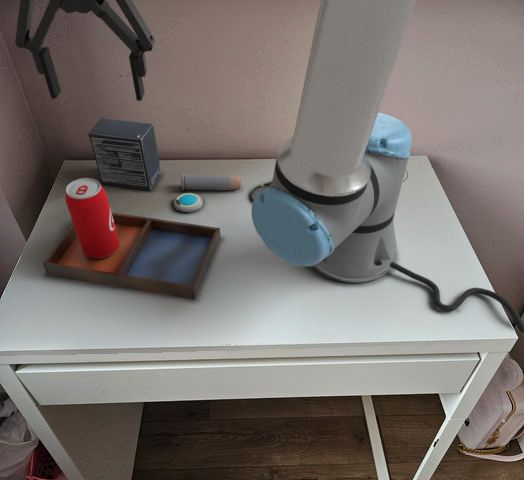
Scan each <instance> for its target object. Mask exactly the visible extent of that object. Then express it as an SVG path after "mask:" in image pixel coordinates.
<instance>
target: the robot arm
mask: <svg viewBox="0 0 524 480" xmlns="http://www.w3.org/2000/svg"><path fill="white" fill-rule="evenodd" d="M115 2H116V3H117V5H118V7H119V9H120V10H121V12H122V13H123V15H124V17H125V19H126V20H127V21H128V23H129V25H130V26H128V25H127V23H126V22H125V21H124V20H123V19H122V18H121V16H119V14H118V13H116V11H115V10H114V9H113V8H112V7H111V6H110V3H109V2H108V0H49V1H48V4H47V5H46V8H45V10H44V13H43V16H42V18H41V19H40V22H39V24H38V26H37V28H36V30H35V32H34V35H33V37H31V28H32V21H33V14H34V8H35V7H34V6H35V0H19V8H18V16H17V24H16V30H15V31H16V33H15V41H14V44H15V46H16V47H17V48H18V49H26V50H27V51H29V52H30V53H31V55H32V59H33V61H34V64H35V68H36V71H37V73H38V74H39V75H43V76H44V79H45V81H46V86H47V88H48V91H49V95H50V98H51V99H57V98H58V96H59V95H60V93H61V91H62V89H61V86H60V82H59V79H58V75H57V72H56V69H55V65H54V62H53V58H52V55H51V51H50V49H49V48H50V47H49V46H43V45H44V42H45V40H46V38H47V36H48V34H49V33H50V30H51V28H52V26H53V24H54V21H55V19H56V17H57V15H58V13H59V12H60V10H62V11H64V12H65V14H73V13H80V14H88V13H90V12H92V13H93V14H94V15H95V16H96V17H97V18H99V19H100V20H102V21H103V23H105V25H106V26H107V27H108V28H109V29H110V31H112V32H113V33H114V34H115V36H117V38H119V40H120V41H121V42H122V43H123V44H124V45H125V46H126V47H127V48H128V50H130V54H129V55H128V59H129V65H130V71H131V77H132V81H133V87H134V93H135V98H136V101H137V102H142V101H143V99H144V96H145V94H146V93H145V88H144V81H143V78H145V77H146V75H147V72H148V67H147V61H146V52H152V51H153V48H154V46H155V44H156V39H155V37H154V35H153V33H152V32H151V30H150V29H149V26H148V25H147V23H146V21H145V20H144V18H143V16H142V15H141V13H140V11H139V9H138V8H137V7H136V4H135V3H134V0H115ZM416 2H417V0H320V2H319V8H318V11H317V18H316V21H315V22H316V23H315V27H314V31H313V32H314V33H313V37H312V42H311V47H310V52H309V57H308V62H307V68H306V73H305V76H304V77H305V78H304V83H303V86H302V93H301V97H300V102H299V107H298V112H297V117H296V122H295V128H294V132H293V136H291V137H289V138H287V139H286V140H285V141H283V142H282V143H281V145H280V146H279V148H278V151H277V153H276V159H275V165H274V171H273V176H272V180H271V181H270V182H271V184H270V186H267V187H264V188H265V189H264V188H262V189H260V192H258V193H257V195H256V196H255V197H254V198H253V200H254V201H252V204H251V211H250V213H251V219H252V223H253V225H254V226H253V227H254V229H255V231H256V233H257V235H258V237H260V238H261V240H262V242H263V244H264V245H265V246H266V247H267V248H268V249H269V250H270V251H271V252H272V254H274V255H275V256H276V257H277V258H279V259H280V260H282V261H284V262H285V263H287V264H290V265H292V266H296V267H301V268H303V267H312V268H313V269H314V270H315V271H317V272H318V273H319V274H321V275H322V276H324V277H326V278H329V279H331V280H334V281H338V282H341V283H348V284H360V283H369V282H372V281H374V280H378V279H379V278H382V277H383V276H385V275H387V273H389V272H390V271H391V269H393V270H395V271H398V272H400V273H401V274H402V275H405V276H407V277H409V278H411V279H413V280H414V281H415V280H416V281H417V282H420V283H422V284H424V285H426V286H427V287H428V288H430V290H432V293H433V303H434V305H435V307H436V308H438V309H439V310H441V311H445V312H453V311H455V310H457V309H458V308H460V307H461V306H462V304H463V303H464V302H465V300H467V298H469V297H470V296H471V295H473V294H476V295H477V294H479V295H483V296H486V297H488V298H492V299H493V300H495V301H497V302H498V303H500V304H501V305H502V306H503V307H504V308H505V310H507V312H508V313H509V315H510V316H511V318H512V319H513V321H514V322H515V325H516V327H517V329H518V331H520V332H521V333H524V321H523V320H522V318H521V317H520V315H519V313H518V311H517V310H516V309H515V307H514V306H513V305H512V304H511V303H510V302H509V301H508V300H507V299H506V298H505V297H503V296H502V295H500V294H499V293H497V292H495V291H492V290H489V289H486V288H481V287H470V288H468V289H466V290H465V291H463V293H461V295H460V296H459V297H458V299H457V300H455V302H454V303H452V304H444V303H442V301H441V295H440V294H441V293H440V289H439V287H438V285H437V284H436V283H435V282H433V281H432V280H431V279H429V278H427V277H424V276H423V275H420V274H418V273H415V272H414V271H412V270H409V269H408V268H405V267H404V266H402V265H400V264H398V263H396V262H395V260H396V257H397V249H398V246H397V238H396V230H395V223H394V218H395V213H396V210H397V205H398V202H399V198H400V194H401V190H402V185H403V181H404V177H405V173H406V169H407V166H408V161H409V158H410V157H411V152H410V151H411V146H412V141H413V137H412V132H411V130H410V129H409V128H408V127H407V125H406V124H405V123H404V122H403V121H401V120H400V119H397V118H396V117H393V116H391V115H387V114H385V113H381V112H380V109H381V106H382V103H383V100H384V97H385V94H386V91H387V89H388V85H389V82H390V79H391V77H392V73H393V70H394V67H395V64H396V61H397V58H398V56H399V53H400V50H401V47H402V43H403V40H404V38H405V35H406V31H407V30H408V25H409V22H410V20H411V17H412V13H413V12H414V11H413V10H414V8H415V5H416Z"/></svg>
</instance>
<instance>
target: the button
mask: <svg viewBox="0 0 524 480" xmlns="http://www.w3.org/2000/svg"><path fill="white" fill-rule="evenodd" d="M203 204H204V201H203V199H202V197H201V196H200V195H198V194H197V193H193V192H186V193H185V192H184V193H182V194H179V195H178V196H177V197H176V198H175V199H174V200H173V207H174V208H175V209H176V210H177V211H178V212H182V213H192V212H196V211H198V210H200V209H201V208H202V207H203Z"/></svg>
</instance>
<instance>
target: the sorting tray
mask: <svg viewBox="0 0 524 480" xmlns="http://www.w3.org/2000/svg"><path fill="white" fill-rule="evenodd" d="M112 216H113V220H114V223H115V227H116V231H117V235H118V238H119V242H120V245H119V248H118V249H117V251H116V252H115V253H113V254H112V255H110V256H108V257H105V258H92V257H89V256H87V255H86V254H85V253H84V252H83V250H82V247H81V244H80V241H79V239H78V236H77V233H76V230H75V227H74V224H73V222H72V223H71V225H70V226H69V227H68V228H67V230H66V231H65V233H64V234H63V236H62V237H61V238H60V240H59V241H58V242H57V244H56V245H55V247H54V248H53V249H52V250H51V252H50V253H49V255H47V257H46V259H45V260H44V261H43V263H42V267H43V269H44V272H45V273H46V275H47V276H49V277H54V278H61V279H66V280H72V281H78V282H84V283H91V284H96V285H103V286H108V287H109V286H110V287H115V288H121V289H126V290H127V289H128V290H133V291H139V292H144V293H151V294H156V295H162V296H163V295H164V296H169V297H176V298H181V299H186V300H187V299H188V300H193V301H196V298H197V296H198V294H199V291H200V290H201V287H202V284H203V283H204V280H205V278H206V275H207V273H208V271H209V268H210V266H211V263H212V261H213V259H214V257H215V254H216V251H217V250H218V248H219V245H220V243H221V240H222V237H221V227H215V226H210V225H209V226H208V225H202V224H194V223H187V222H181V221H174V220H166V219H160V218H153V217H146V216H140V215H132V214H126V213H125V214H124V213H118V212H112Z"/></svg>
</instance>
